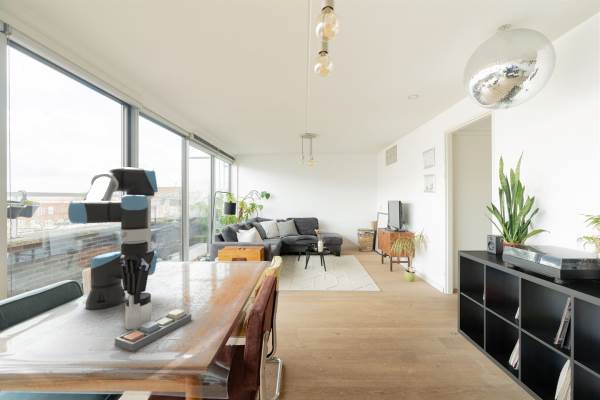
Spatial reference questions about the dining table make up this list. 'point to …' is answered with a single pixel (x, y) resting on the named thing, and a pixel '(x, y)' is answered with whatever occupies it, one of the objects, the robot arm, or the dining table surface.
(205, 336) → the dining table surface
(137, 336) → the key terracotta
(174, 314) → the key cream
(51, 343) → the dining table surface
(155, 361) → the dining table surface
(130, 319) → the jar
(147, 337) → the grey compartment tray
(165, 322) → the key sage
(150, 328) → the key slate
